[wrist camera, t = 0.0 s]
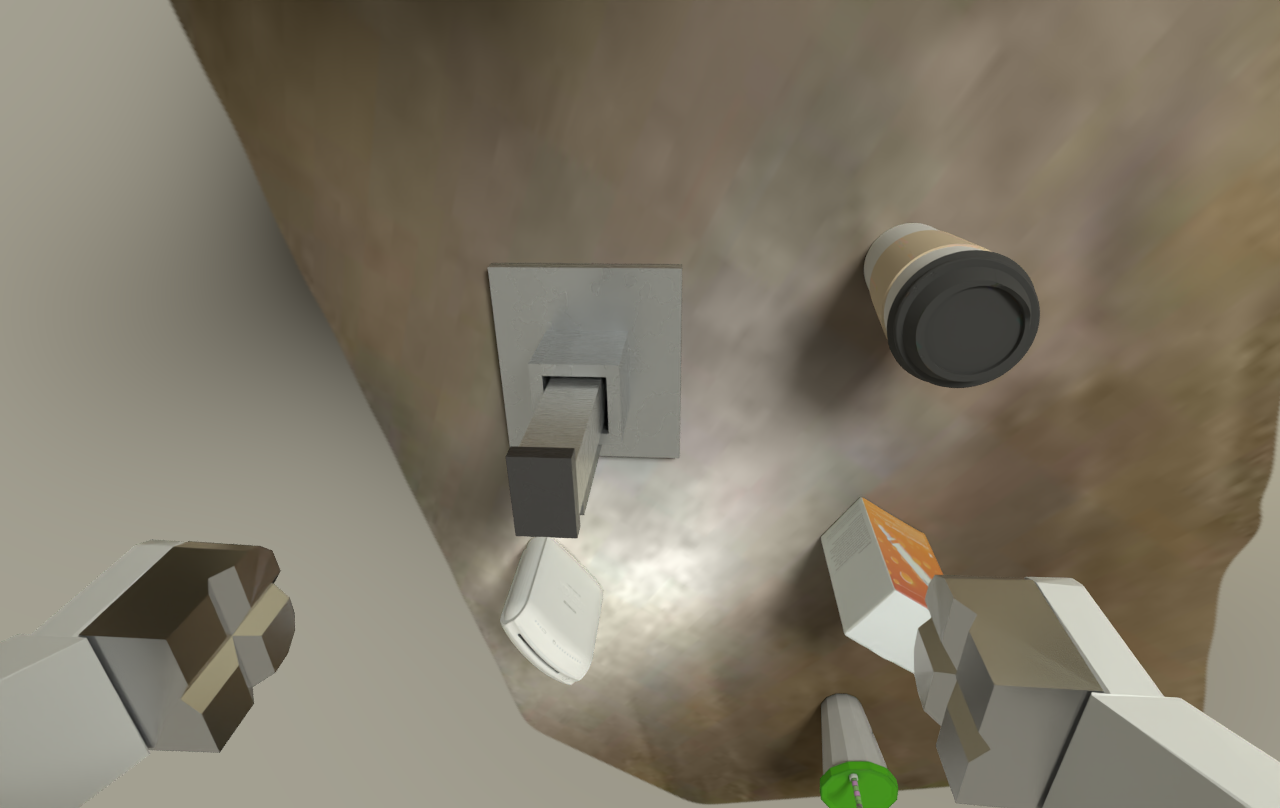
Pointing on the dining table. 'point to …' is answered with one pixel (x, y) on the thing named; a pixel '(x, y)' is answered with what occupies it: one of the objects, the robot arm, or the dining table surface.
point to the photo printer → (553, 611)
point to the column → (557, 457)
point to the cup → (852, 758)
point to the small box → (880, 579)
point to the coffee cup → (950, 305)
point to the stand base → (594, 347)
